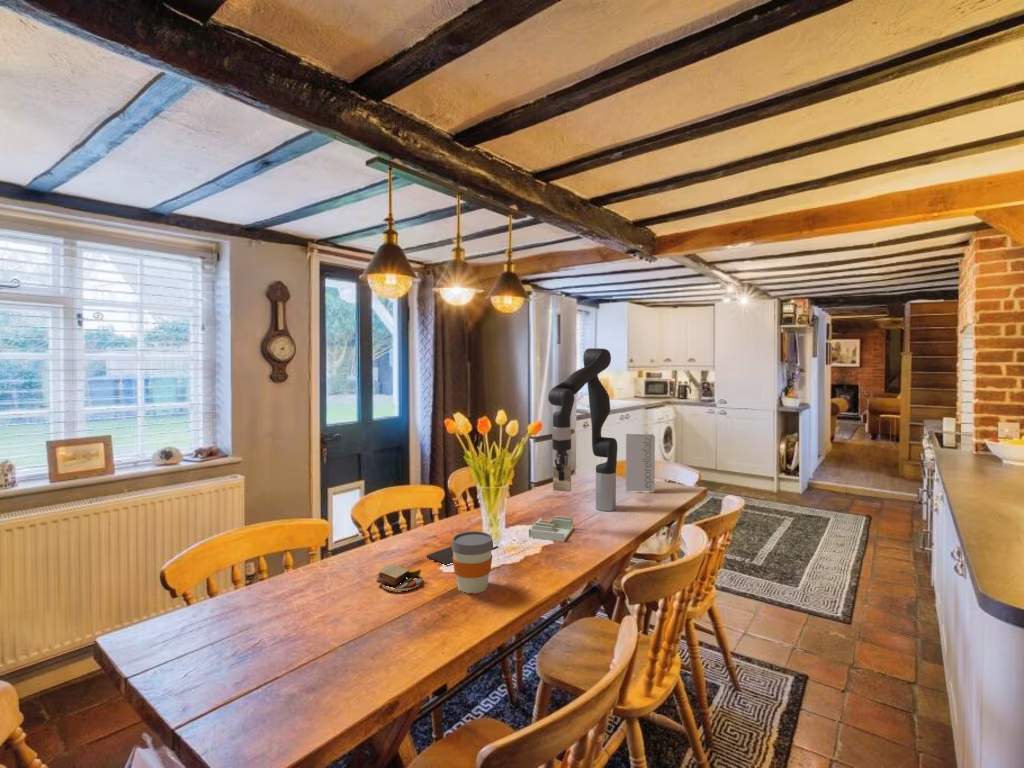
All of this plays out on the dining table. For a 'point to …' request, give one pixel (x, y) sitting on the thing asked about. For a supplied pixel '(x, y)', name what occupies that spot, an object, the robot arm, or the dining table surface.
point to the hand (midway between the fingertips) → (562, 479)
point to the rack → (553, 529)
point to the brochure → (640, 462)
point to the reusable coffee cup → (472, 560)
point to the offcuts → (545, 521)
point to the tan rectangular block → (564, 484)
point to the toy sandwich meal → (399, 578)
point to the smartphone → (442, 556)
